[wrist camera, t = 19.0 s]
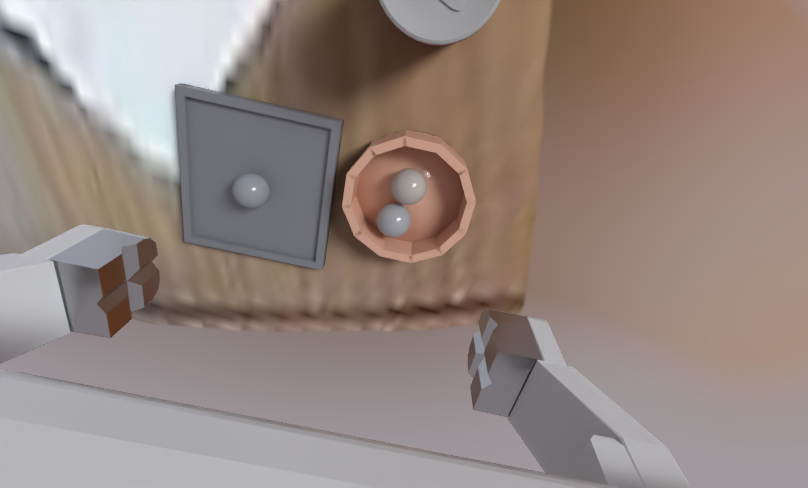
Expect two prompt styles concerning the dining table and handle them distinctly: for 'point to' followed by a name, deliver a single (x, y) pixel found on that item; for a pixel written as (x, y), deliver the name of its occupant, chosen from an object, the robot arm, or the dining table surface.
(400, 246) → the bowl
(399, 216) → the pebble
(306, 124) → the tray
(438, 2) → the canned food
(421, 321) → the dining table surface
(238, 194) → the pebble
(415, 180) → the pebble
